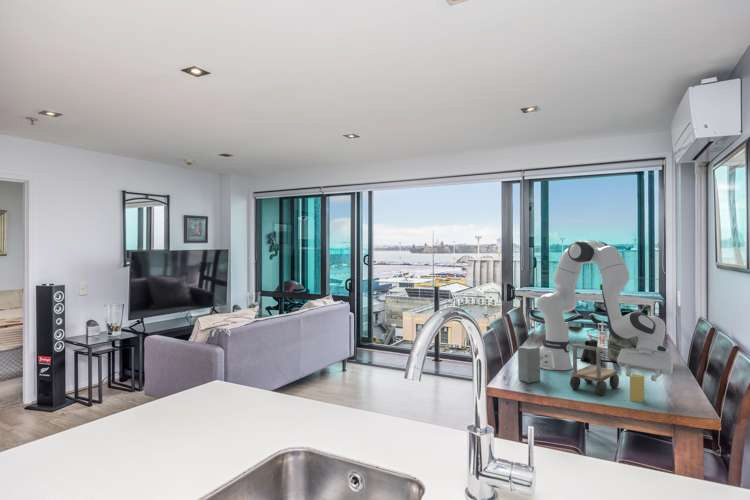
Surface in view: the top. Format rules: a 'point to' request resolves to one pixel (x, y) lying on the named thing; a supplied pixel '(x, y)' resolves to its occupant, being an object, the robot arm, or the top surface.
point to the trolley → (593, 372)
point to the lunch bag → (619, 346)
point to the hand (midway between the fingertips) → (640, 377)
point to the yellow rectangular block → (637, 388)
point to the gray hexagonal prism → (529, 364)
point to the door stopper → (590, 353)
